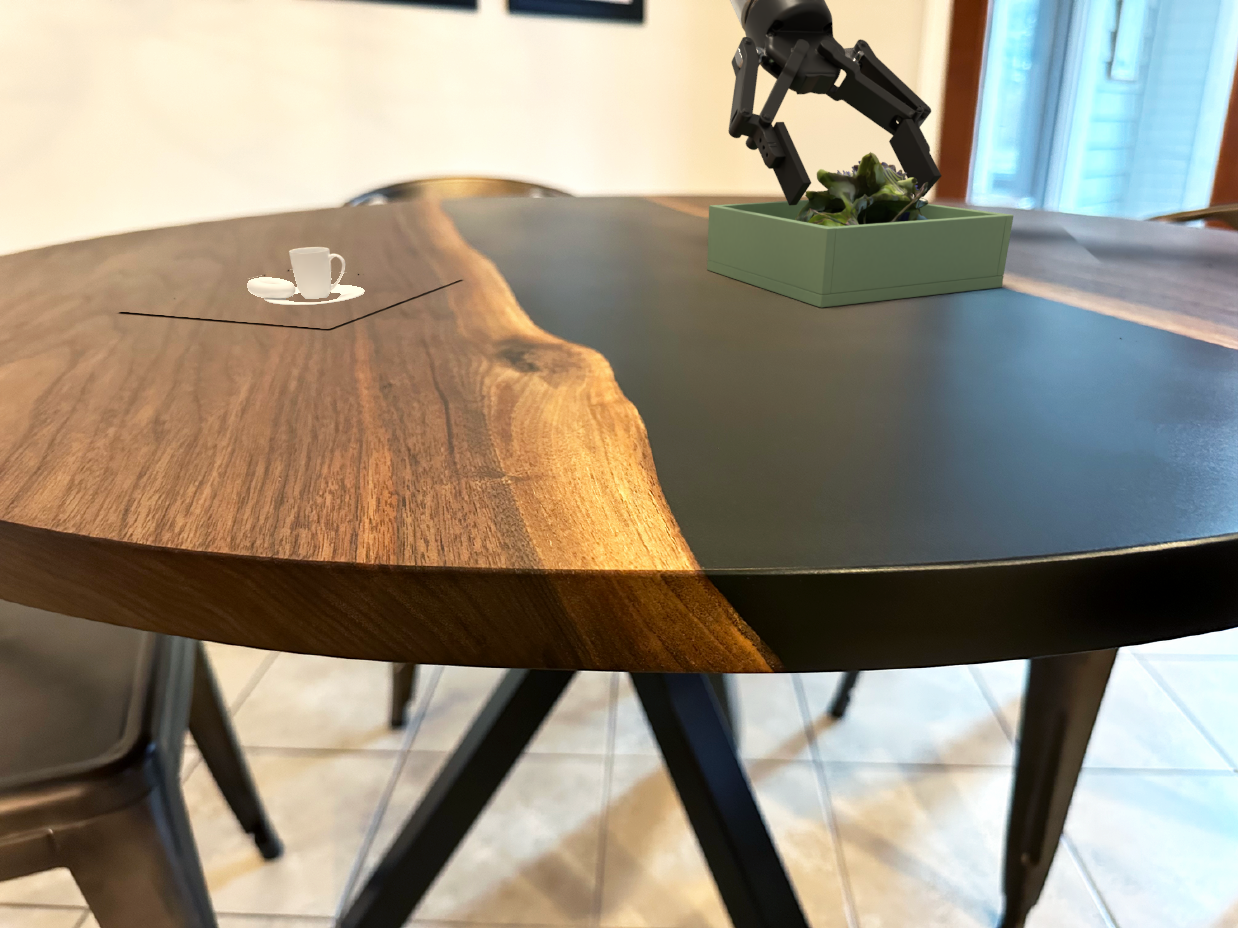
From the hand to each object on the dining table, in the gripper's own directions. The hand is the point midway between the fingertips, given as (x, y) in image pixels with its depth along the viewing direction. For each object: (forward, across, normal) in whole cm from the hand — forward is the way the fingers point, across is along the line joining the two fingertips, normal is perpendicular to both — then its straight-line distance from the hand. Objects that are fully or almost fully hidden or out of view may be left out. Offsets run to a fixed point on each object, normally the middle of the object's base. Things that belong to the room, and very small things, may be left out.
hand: (867, 191), depth 72 cm
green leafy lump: (+4, 0, -6) cm, 7 cm away
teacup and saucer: (-6, +46, -17) cm, 49 cm away
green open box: (+4, 0, -7) cm, 8 cm away
